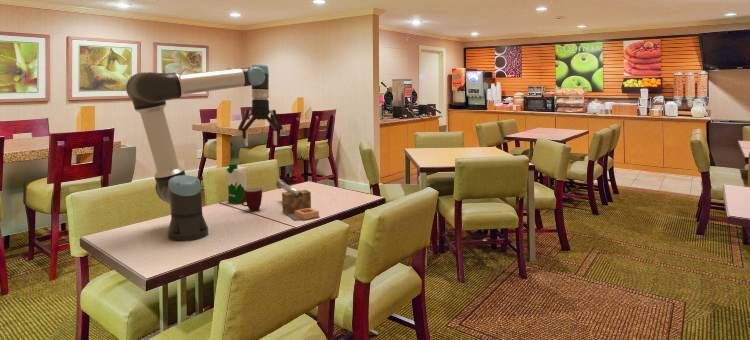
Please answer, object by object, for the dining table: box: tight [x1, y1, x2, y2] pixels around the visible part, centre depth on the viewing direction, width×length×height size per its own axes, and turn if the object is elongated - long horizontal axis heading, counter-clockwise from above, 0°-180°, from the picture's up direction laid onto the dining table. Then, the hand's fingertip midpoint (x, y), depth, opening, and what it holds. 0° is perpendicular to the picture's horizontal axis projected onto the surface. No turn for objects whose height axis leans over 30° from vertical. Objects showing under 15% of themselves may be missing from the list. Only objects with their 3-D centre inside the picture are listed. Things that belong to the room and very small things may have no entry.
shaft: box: [275, 179, 300, 197], centre depth 233 cm, size 26×5×5 cm, turn 29°
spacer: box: [295, 207, 320, 221], centre depth 215 cm, size 8×2×8 cm
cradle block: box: [281, 189, 312, 216], centre depth 223 cm, size 12×6×10 cm, turn 118°
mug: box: [241, 187, 263, 212], centre depth 226 cm, size 11×8×10 cm
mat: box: [286, 213, 321, 222], centre depth 217 cm, size 12×11×1 cm
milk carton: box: [225, 163, 248, 205], centre depth 241 cm, size 9×9×20 cm
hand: (261, 145), depth 219 cm, fingers open, 13 cm apart
